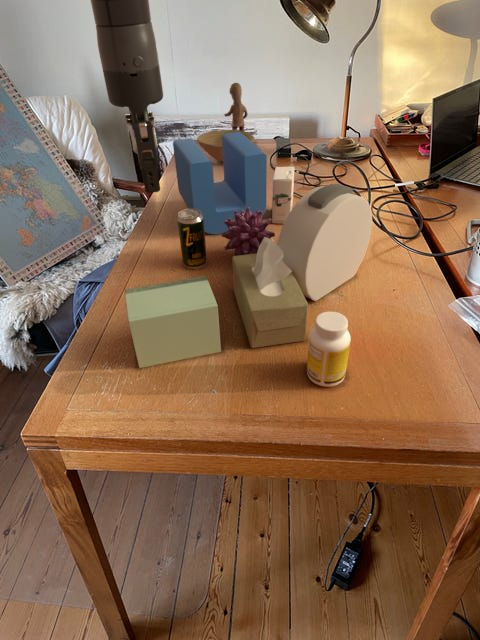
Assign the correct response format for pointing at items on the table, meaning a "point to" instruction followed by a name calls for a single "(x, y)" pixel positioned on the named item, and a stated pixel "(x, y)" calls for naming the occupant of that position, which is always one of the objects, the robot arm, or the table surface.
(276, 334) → the tissue box
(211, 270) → the table surface
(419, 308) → the table surface
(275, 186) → the ink box
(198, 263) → the beer can
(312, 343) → the pill bottle
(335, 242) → the alarm clock
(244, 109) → the figurine
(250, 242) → the flower
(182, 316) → the pale green open box
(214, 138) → the bowl
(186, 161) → the block
